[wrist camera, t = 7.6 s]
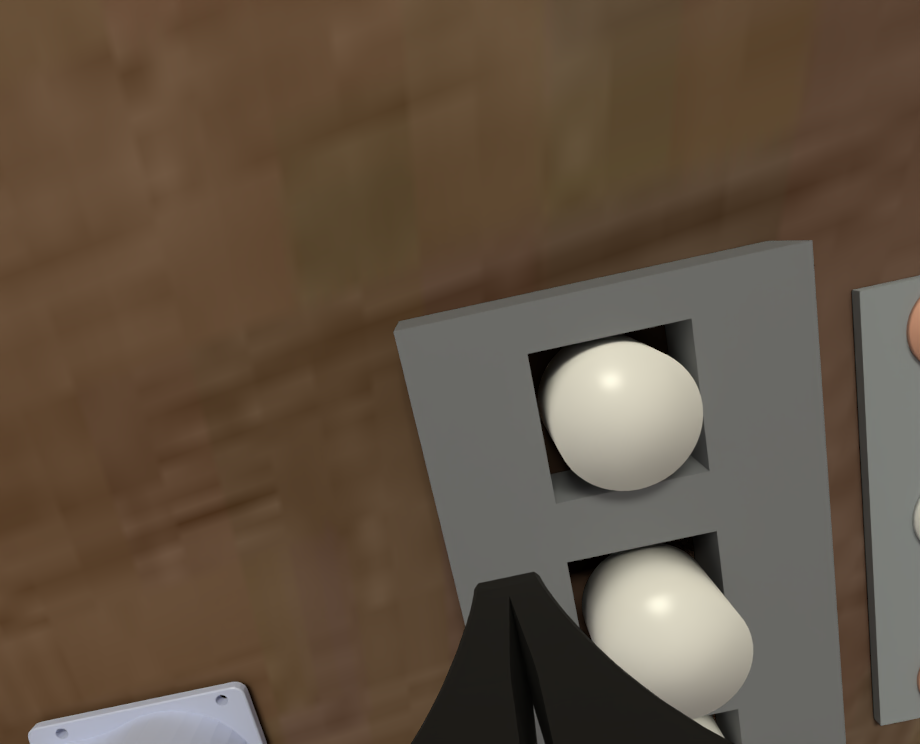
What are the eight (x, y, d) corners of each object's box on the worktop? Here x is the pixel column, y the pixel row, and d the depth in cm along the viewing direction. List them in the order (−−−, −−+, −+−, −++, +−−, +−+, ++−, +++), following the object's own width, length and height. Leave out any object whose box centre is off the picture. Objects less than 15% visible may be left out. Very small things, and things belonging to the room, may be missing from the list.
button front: (549, 468, 22) (567, 504, 19) (526, 347, 21) (541, 365, 18) (672, 441, 22) (710, 474, 19) (656, 319, 21) (694, 332, 18)
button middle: (592, 666, 22) (617, 735, 19) (572, 557, 21) (594, 611, 18) (715, 641, 22) (759, 706, 19) (700, 530, 21) (746, 579, 18)
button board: (522, 833, 26) (530, 893, 24) (399, 321, 21) (393, 331, 18) (813, 774, 26) (851, 828, 24) (768, 241, 21) (812, 240, 18)
